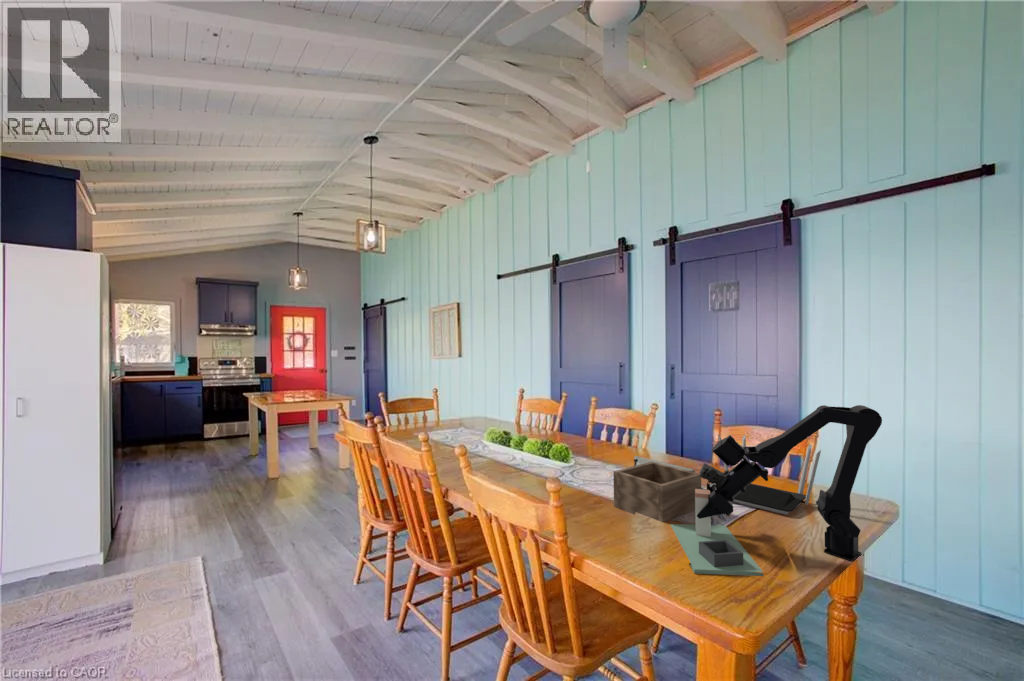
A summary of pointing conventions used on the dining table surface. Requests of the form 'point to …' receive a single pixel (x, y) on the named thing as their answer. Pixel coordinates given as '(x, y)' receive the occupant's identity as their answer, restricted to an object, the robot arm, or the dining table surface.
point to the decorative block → (642, 460)
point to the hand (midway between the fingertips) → (697, 512)
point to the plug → (700, 501)
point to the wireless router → (777, 491)
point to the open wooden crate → (655, 490)
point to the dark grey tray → (720, 553)
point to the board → (718, 532)
